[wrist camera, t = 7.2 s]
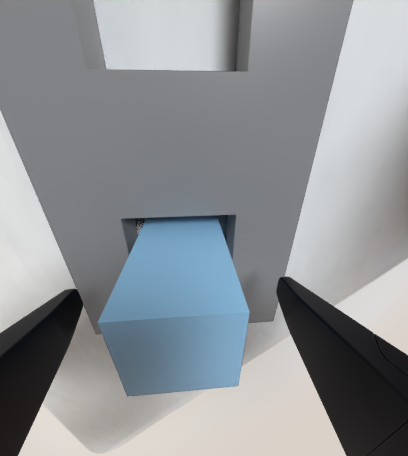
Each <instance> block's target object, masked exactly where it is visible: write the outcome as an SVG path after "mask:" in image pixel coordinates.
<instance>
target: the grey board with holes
mask: <svg viewBox="0 0 408 456" xmlns="http://www.w3.org/2000/svg"><path fill="white" fill-rule="evenodd" d="M352 4H353V0H240V10H239V28H238V45H237V62H236V71H172V70H106V66H105V61H104V56H103V50H102V45H101V40H100V35H99V29H98V24H97V19H96V14H95V9H94V3H93V0H0V110H1V113H2V115H3V117H4V120H5V122H6V124H7V127H8V129H9V131H10V134H11V136H12V138H13V141H14V143H15V145H16V148H17V150H18V152H19V155H20V157H21V159H22V162H23V164H24V166H25V169H26V171H27V173H28V176H29V178H30V180H31V183H32V185H33V187H34V190H35V192H36V195H37V197H38V199H39V202H40V204H41V206H42V209H43V211H44V213H45V216H46V218H47V220H48V223H49V225H50V227H51V230H52V232H53V234H54V237H55V239H56V241H57V244H58V246H59V248H60V251H61V253H62V255H63V258H64V260H65V262H66V265H67V267H68V269H69V272H70V274H71V276H72V279H73V281H74V284H75V286H76V288H77V290H78V292H79V294H80V296H81V299H82V301H83V305H84V307H85V309H86V312H87V314H88V316H89V319H90V321H91V323H92V326H93V328H94V330H95V333H96V334H102V332H101V330H100V327H99V325H98V321H99V319H100V317H101V314H102V312H103V310H104V308H105V306H106V304H107V302H108V300H109V297H110V295H111V293H112V291H113V289H114V287H115V285H116V282H117V280H118V278H119V276H120V274H121V272H122V270H123V267H124V265H125V263H126V261H127V259H128V257H129V255H130V253H131V250H132V248H133V246H134V244H135V242H136V240H137V238H138V233H137V228H136V223H135V218H153V217H182V216H210V215H228V218H227V235H226V244H227V247H228V250H229V253H230V255H231V258H232V261H233V264H234V267H235V270H236V273H237V276H238V279H239V282H240V285H241V288H242V291H243V294H244V297H245V300H246V303H247V306H248V309H249V312H250V313H249V320H248V323H256V322H270V321H273V320H274V316H275V312H276V308H277V304H278V297H277V294H276V289H277V284H278V280H279V278H280V277H284V276H285V272H286V268H287V264H288V260H289V256H290V252H291V248H292V244H293V240H294V236H295V232H296V228H297V224H298V220H299V216H300V212H301V208H302V204H303V200H304V196H305V192H306V188H307V184H308V180H309V176H310V172H311V168H312V164H313V160H314V156H315V152H316V148H317V144H318V140H319V136H320V132H321V128H322V124H323V120H324V116H325V112H326V108H327V104H328V100H329V96H330V92H331V88H332V84H333V80H334V76H335V72H336V68H337V64H338V60H339V56H340V52H341V48H342V44H343V40H344V36H345V32H346V28H347V24H348V20H349V16H350V12H351V8H352Z"/></svg>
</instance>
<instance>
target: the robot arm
mask: <svg viewBox="0 0 408 456" xmlns="http://www.w3.org/2000/svg"><path fill="white" fill-rule="evenodd" d="M276 294H277V297H278V300H279V303H280V306H281V309H282V312H283V315H284V318H285V321H286V324H287V326H288V329H289V331H290V334H291V336H292V337H293V340H294V342H295V344H296V347H297V349H298V351H299V353H300V355H301V358H302V360H303V362H304V364H305V366H306V368H307V371H308V373H309V375H310V377H311V379H312V381H313V384H314V386H315V388H316V390H317V392H318V395H319V397H320V399H321V401H322V403H323V405H324V408H325V410H326V412H327V414H328V416H329V419H330V421H331V423H332V425H333V427H334V429H335V432H336V434H337V436H338V438H339V440H340V442H341V445H342V447H343V449H344V451H345V454H346V455H347V456H408V355H407V354H405V353H403V352H402V351H400V350H399V349H397V348H395V347H394V346H393V345H391V344H390V343H388V342H386V341H385V340H383V339H382V338H380V337H379V336H377V335H376V334H373V332H371V331H370V330H368V329H367V328H365V327H364V326H362V325H361V324H359V323H358V322H356V321H355V320H353V319H352V318H350V317H349V316H347V315H346V314H344V313H343V312H341V311H340V310H338V309H337V308H335V307H334V306H332V305H331V304H329V303H328V302H326V301H325V300H323V299H322V298H320V297H319V296H317V295H316V294H314V293H313V292H311V291H310V290H308V289H307V288H305V287H304V286H302V285H301V284H299V283H298V282H296V281H295V280H293V279H292V278H290V277H280V278H279V280H278V284H277V289H276ZM82 308H83V301H82V299H81V296H80V294H79V292H78V290H77V289H67V290H64V291H63V292H61V293H60V294H58V295H57V296H55V297H54V298H52V299H51V300H49V301H48V302H46V303H45V304H43V305H42V306H40V307H39V308H37V309H36V310H34V311H33V312H31V313H30V314H28V315H27V316H25V317H24V318H22V319H21V320H19V321H18V322H16V323H15V324H13V325H12V326H10V327H9V328H7V329H6V330H4V331H3V332H1V333H0V456H18V454H19V452H20V450H21V448H22V446H23V444H24V441H25V439H26V437H27V435H28V433H29V431H30V428H31V426H32V424H33V422H34V420H35V418H36V416H37V413H38V411H39V409H40V407H41V405H42V403H43V401H44V398H45V396H46V394H47V392H48V390H49V388H50V386H51V383H52V381H53V379H54V377H55V375H56V373H57V370H58V368H59V366H60V364H61V362H62V360H63V358H64V355H65V353H66V351H67V349H68V347H69V344H70V342H71V339H72V337H73V334H74V331H75V328H76V325H77V322H78V320H79V317H80V314H81V311H82Z"/></svg>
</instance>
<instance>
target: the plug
mask: <svg viewBox="0 0 408 456" xmlns="http://www.w3.org/2000/svg"><path fill="white" fill-rule="evenodd" d="M249 313H250V312H249V309H248V306H247V303H246V300H245V297H244V294H243V291H242V288H241V285H240V282H239V279H238V276H237V273H236V270H235V267H234V264H233V261H232V258H231V255H230V253H229V250H228V247H227V244H226V241H225V238H224V235H223V232H222V229H221V226H220V223H219V220H218V217H217V215H210V216H182V217H153V218H146V220H145V223H144V225H143V227H142V229H141V231H140V233H139V235H138V238H137V240H136V242H135V244H134V246H133V248H132V250H131V253H130V255H129V257H128V259H127V261H126V263H125V265H124V267H123V270H122V272H121V274H120V276H119V278H118V280H117V282H116V285H115V287H114V289H113V291H112V293H111V295H110V297H109V300H108V302H107V304H106V306H105V308H104V310H103V312H102V314H101V317H100V319H99V321H98V325H99V327H100V330H101V332H102V335H103V337H104V340H105V342H106V345H107V347H108V350H109V352H110V354H111V357H112V359H113V362H114V364H115V367H116V369H117V372H118V374H119V377H120V379H121V382H122V384H123V387H124V389H125V392H126V394H127V397H128V396H138V395H149V394H159V393H170V392H180V391H191V390H201V389H212V388H222V387H233V386H238V384H239V377H240V372H241V365H242V359H243V352H244V346H245V339H246V333H247V326H248V320H249Z"/></svg>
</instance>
